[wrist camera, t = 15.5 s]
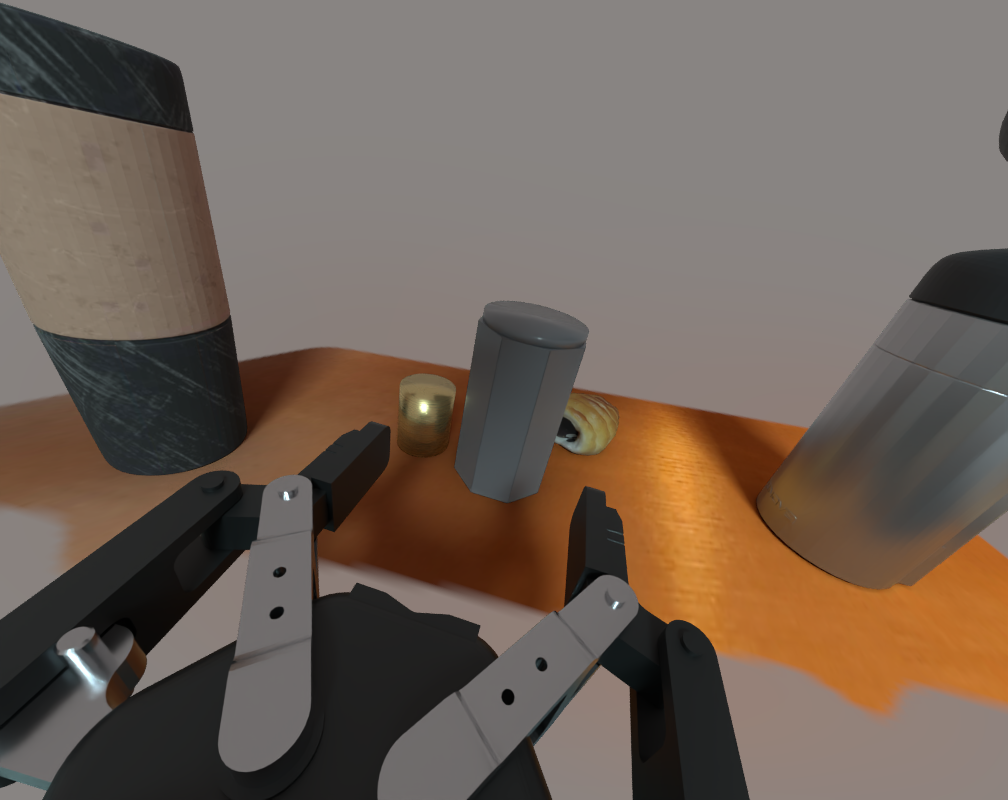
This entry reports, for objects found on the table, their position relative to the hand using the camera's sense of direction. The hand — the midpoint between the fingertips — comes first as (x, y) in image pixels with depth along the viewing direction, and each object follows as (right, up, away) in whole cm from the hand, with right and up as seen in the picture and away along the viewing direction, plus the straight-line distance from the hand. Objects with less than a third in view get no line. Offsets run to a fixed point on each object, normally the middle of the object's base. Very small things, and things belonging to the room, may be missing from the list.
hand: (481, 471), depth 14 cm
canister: (+1, -2, +13) cm, 13 cm away
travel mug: (-21, 0, +10) cm, 23 cm away
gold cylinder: (-6, 0, +14) cm, 15 cm away
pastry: (+8, 0, +20) cm, 22 cm away
